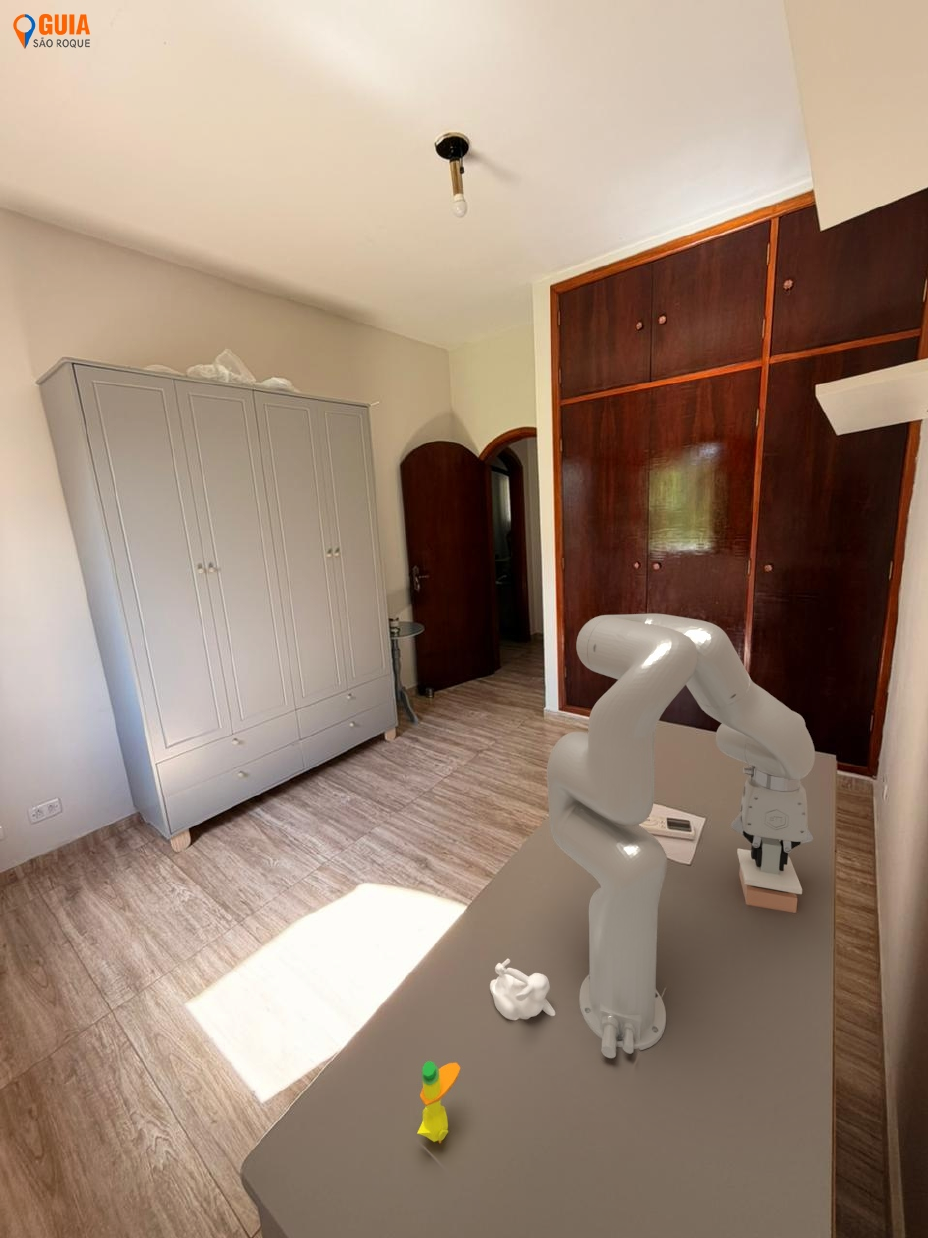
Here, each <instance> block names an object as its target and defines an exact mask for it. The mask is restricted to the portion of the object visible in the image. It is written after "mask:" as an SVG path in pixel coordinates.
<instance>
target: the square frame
mask: <svg viewBox="0 0 928 1238" xmlns="http://www.w3.org/2000/svg"><path fill="white" fill-rule="evenodd" d="M738 875H739V876H738V877H739V880H740V885H741V888H742V891H743V897H744V900H745V901H744V902H745V905H746V906H753V907H758V908H764V909H769V910H777V911H781V912H782V911H783V912H789V913H795V914H797V910H798V909H797V905H798V896H797V893H791V892H786V891H779V890H774V889H768V888H763V887H757V886H753V885H747V884H745V883H744V879H743V874H742V870H741V866H740V865H739V874H738Z"/></svg>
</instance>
